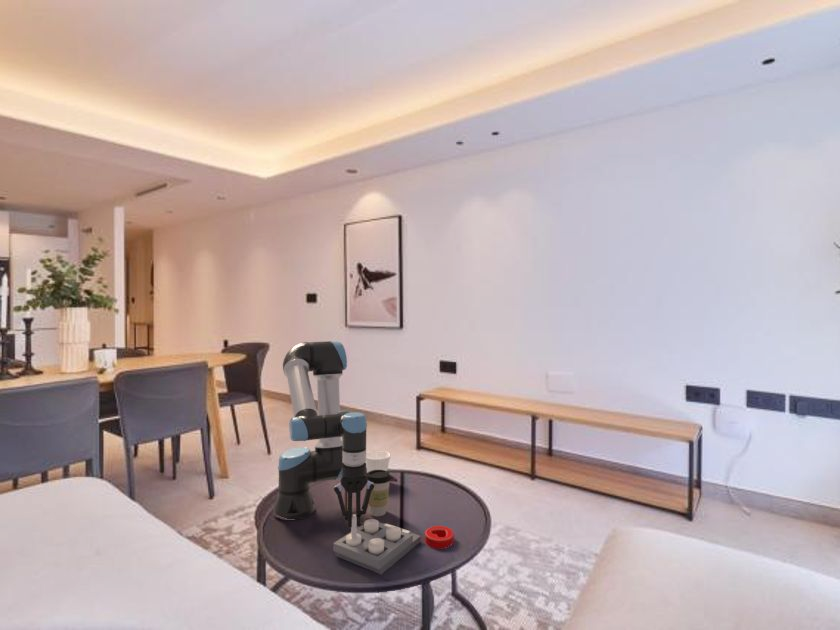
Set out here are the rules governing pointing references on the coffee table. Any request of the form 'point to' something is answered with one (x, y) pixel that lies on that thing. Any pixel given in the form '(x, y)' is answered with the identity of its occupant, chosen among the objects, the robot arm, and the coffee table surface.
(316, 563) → the coffee table surface
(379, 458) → the cup
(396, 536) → the outer button
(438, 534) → the decorative ornament
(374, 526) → the inner button
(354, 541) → the inner button
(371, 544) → the outer button
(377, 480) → the coffee cup
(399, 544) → the board
